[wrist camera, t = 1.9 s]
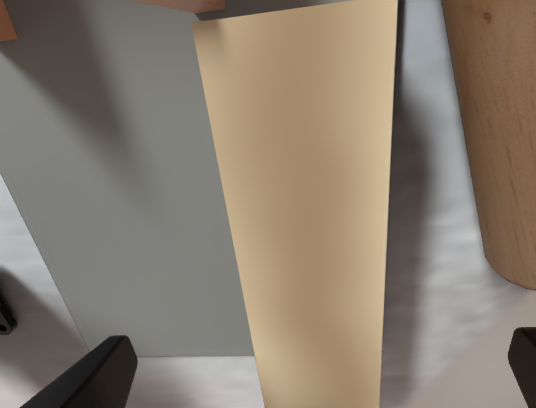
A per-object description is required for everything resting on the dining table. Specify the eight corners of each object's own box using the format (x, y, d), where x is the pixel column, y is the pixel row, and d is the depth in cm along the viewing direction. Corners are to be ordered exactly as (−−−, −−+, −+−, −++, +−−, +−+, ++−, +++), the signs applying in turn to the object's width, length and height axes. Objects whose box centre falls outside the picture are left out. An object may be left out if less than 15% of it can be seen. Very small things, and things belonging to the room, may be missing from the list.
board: (97, 347, 18) (91, 357, 18) (-158, -187, 9) (-186, -200, 9) (379, 344, 17) (381, 354, 16) (406, -335, 7) (414, -364, 7)
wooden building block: (276, 348, 16) (270, 435, 13) (228, 27, 10) (191, 23, 7) (360, 347, 16) (377, 437, 12) (362, 9, 10) (397, -6, 6)
